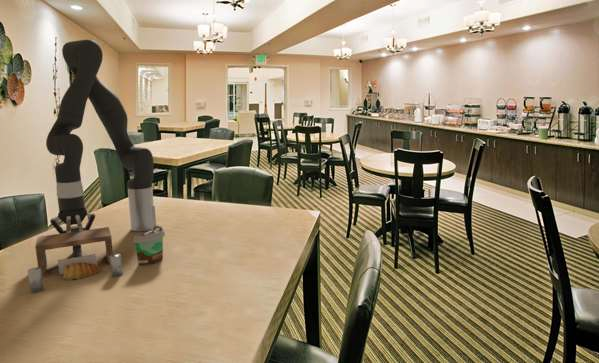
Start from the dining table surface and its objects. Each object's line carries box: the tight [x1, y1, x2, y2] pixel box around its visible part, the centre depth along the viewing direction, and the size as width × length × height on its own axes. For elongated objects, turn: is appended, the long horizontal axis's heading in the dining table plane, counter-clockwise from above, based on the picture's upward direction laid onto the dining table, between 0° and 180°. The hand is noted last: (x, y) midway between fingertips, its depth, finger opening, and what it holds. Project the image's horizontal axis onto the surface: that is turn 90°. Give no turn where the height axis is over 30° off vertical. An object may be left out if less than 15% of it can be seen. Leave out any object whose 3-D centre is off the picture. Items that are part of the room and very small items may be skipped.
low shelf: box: [34, 226, 114, 278], centre depth 125 cm, size 20×10×10 cm, turn 119°
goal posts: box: [27, 253, 123, 293], centre depth 113 cm, size 23×3×6 cm, turn 119°
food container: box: [133, 224, 166, 266], centre depth 129 cm, size 12×6×10 cm, turn 168°
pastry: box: [62, 263, 100, 281], centre depth 119 cm, size 9×7×4 cm
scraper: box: [57, 225, 97, 275], centre depth 128 cm, size 10×18×9 cm, turn 29°
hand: (76, 244), depth 134 cm, fingers closed on scraper, 2 cm apart
